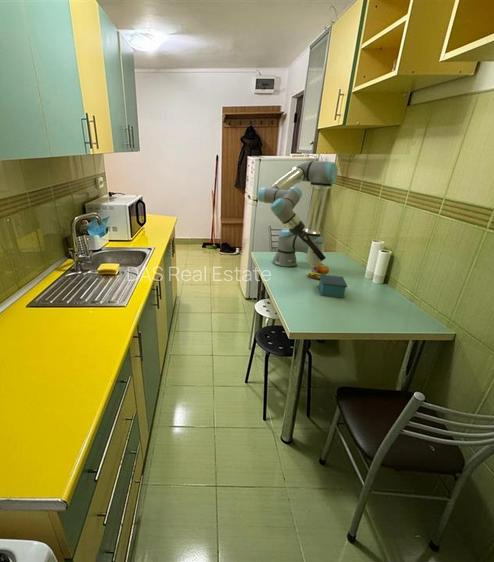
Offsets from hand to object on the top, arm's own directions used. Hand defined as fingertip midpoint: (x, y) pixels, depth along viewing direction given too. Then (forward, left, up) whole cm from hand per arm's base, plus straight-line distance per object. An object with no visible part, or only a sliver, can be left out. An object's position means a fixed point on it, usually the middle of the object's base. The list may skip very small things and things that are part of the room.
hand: (321, 256), depth 158 cm
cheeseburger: (-20, +3, -20) cm, 28 cm away
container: (0, +8, -19) cm, 21 cm away
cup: (+1, -3, -4) cm, 5 cm away
